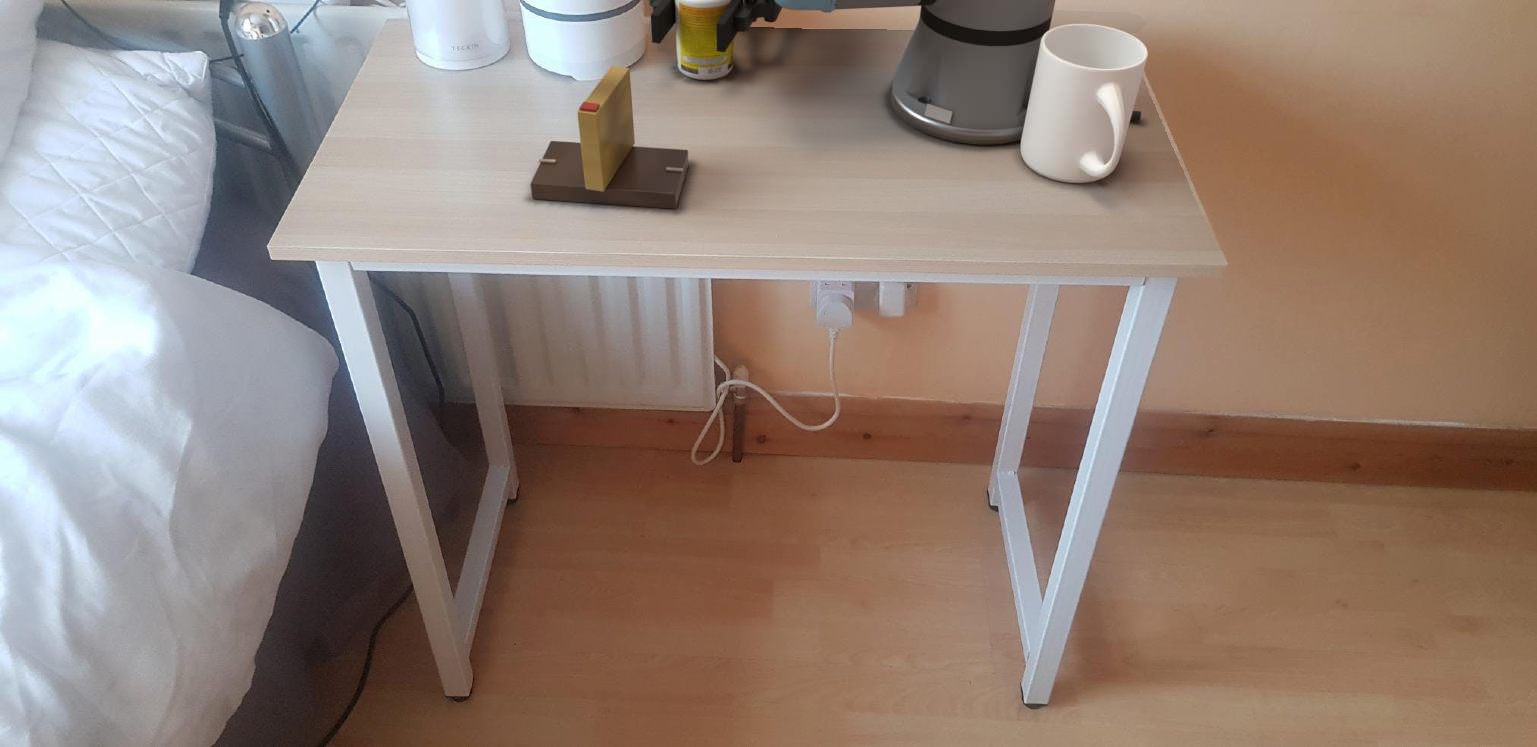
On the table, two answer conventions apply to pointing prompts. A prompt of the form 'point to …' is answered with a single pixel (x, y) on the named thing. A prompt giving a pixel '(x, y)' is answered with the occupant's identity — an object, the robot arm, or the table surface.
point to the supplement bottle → (701, 39)
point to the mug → (1081, 101)
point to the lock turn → (606, 128)
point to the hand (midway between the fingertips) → (687, 33)
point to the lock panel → (636, 182)
